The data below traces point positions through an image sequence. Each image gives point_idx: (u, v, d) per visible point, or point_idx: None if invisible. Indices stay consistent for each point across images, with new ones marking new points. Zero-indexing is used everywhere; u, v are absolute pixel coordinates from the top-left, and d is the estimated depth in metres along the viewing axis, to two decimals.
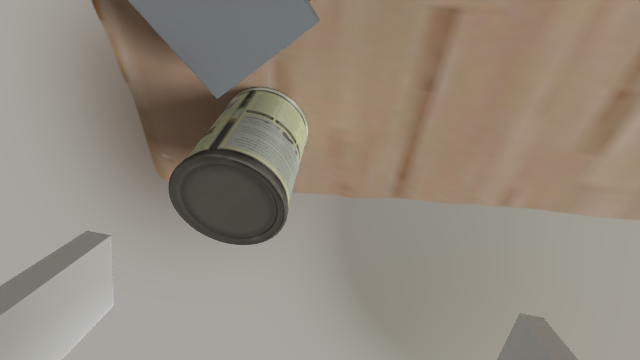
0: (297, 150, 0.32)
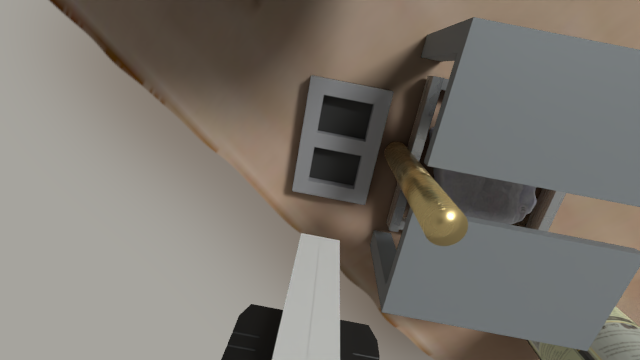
0: None
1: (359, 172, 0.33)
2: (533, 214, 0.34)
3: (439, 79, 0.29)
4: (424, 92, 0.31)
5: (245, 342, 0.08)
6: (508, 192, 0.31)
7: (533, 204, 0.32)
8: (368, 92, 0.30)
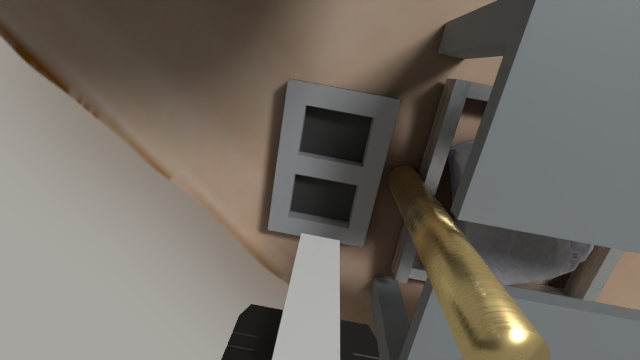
0: None
1: (355, 206, 0.25)
2: None
3: (464, 83, 0.21)
4: (442, 101, 0.23)
5: (245, 342, 0.08)
6: None
7: (589, 250, 0.24)
8: (366, 101, 0.22)
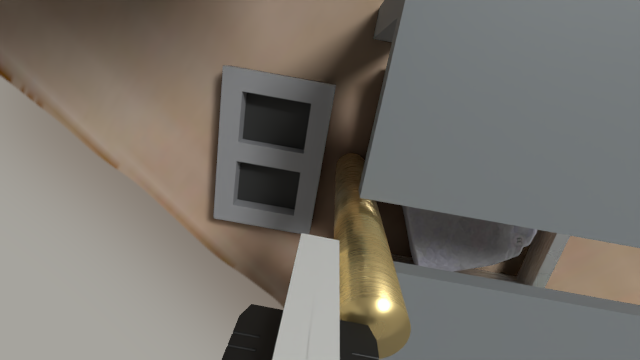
0: None
1: (298, 193, 0.25)
2: (534, 245, 0.26)
3: None
4: None
5: (245, 342, 0.08)
6: None
7: (533, 234, 0.24)
8: (302, 87, 0.22)
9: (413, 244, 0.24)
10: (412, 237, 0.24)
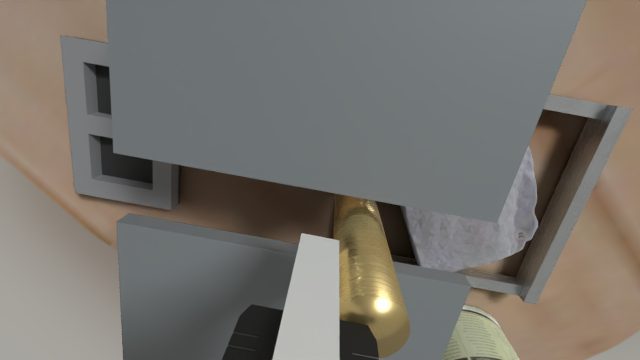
0: None
1: (154, 167, 0.25)
2: (533, 246, 0.26)
3: None
4: None
5: (245, 342, 0.08)
6: None
7: (534, 228, 0.23)
8: None
9: (414, 246, 0.24)
10: (413, 239, 0.24)
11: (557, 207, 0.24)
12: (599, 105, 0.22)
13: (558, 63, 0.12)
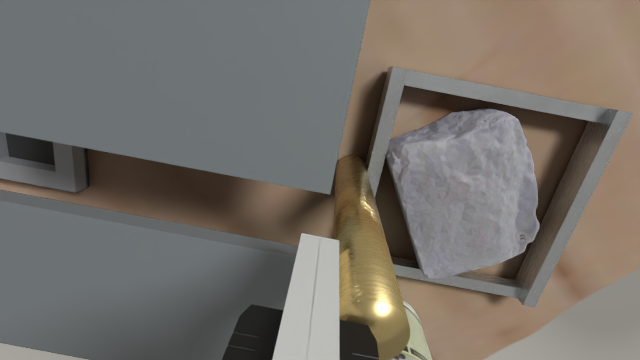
0: (416, 358, 0.23)
1: (55, 148, 0.25)
2: (533, 249, 0.26)
3: (401, 71, 0.21)
4: (384, 89, 0.23)
5: (245, 342, 0.08)
6: (498, 219, 0.23)
7: (535, 229, 0.23)
8: None
9: (416, 249, 0.24)
10: (414, 243, 0.24)
11: (557, 210, 0.24)
12: (600, 109, 0.22)
13: (361, 29, 0.12)
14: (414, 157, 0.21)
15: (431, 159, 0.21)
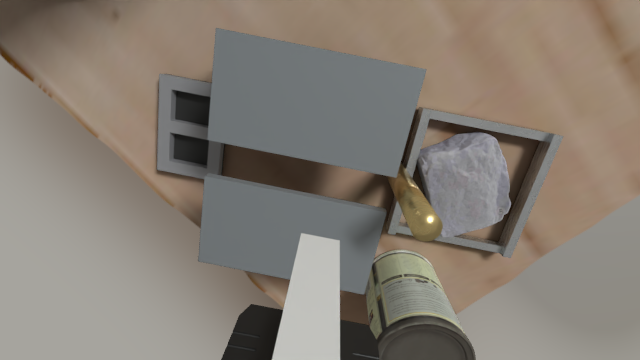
0: (434, 284, 0.38)
1: (209, 154, 0.40)
2: (509, 221, 0.41)
3: (428, 111, 0.36)
4: (416, 120, 0.38)
5: (245, 342, 0.08)
6: (485, 199, 0.38)
7: (508, 206, 0.38)
8: (206, 87, 0.38)
9: None
10: None
11: (522, 195, 0.39)
12: (545, 133, 0.37)
13: (416, 101, 0.27)
14: (435, 161, 0.36)
15: (445, 162, 0.36)
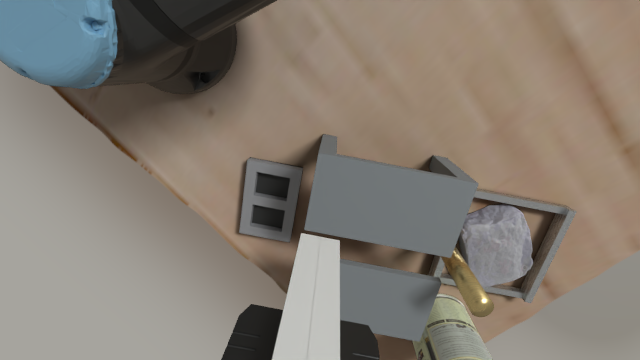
0: (471, 327, 0.47)
1: (284, 221, 0.49)
2: (529, 272, 0.50)
3: None
4: None
5: (245, 342, 0.08)
6: (512, 259, 0.46)
7: (531, 264, 0.47)
8: (285, 170, 0.46)
9: None
10: None
11: (542, 254, 0.48)
12: (561, 208, 0.45)
13: (469, 205, 0.36)
14: (474, 232, 0.45)
15: (482, 233, 0.44)
